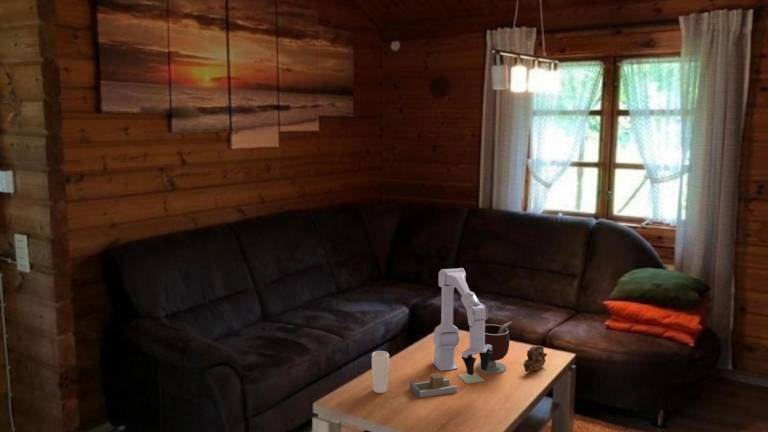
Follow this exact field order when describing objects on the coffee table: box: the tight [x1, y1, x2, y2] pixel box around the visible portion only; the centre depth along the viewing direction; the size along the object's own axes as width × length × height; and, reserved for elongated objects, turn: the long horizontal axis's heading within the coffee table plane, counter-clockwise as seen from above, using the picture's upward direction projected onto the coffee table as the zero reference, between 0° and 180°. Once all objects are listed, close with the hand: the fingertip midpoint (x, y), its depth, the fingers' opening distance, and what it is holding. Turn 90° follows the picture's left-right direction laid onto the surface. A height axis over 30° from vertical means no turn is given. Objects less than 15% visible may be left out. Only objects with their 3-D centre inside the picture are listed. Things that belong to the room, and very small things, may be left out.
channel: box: [409, 378, 458, 399], centre depth 245 cm, size 8×16×3 cm, turn 109°
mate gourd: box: [476, 321, 513, 375], centre depth 266 cm, size 16×14×20 cm
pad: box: [457, 372, 485, 384], centre depth 257 cm, size 8×8×1 cm
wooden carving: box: [522, 345, 548, 373], centre depth 266 cm, size 16×5×10 cm, turn 143°
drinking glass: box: [371, 350, 390, 394], centre depth 243 cm, size 7×7×15 cm
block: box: [428, 373, 444, 389], centre depth 245 cm, size 4×4×6 cm
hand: (477, 372), depth 239 cm, fingers open, 7 cm apart
